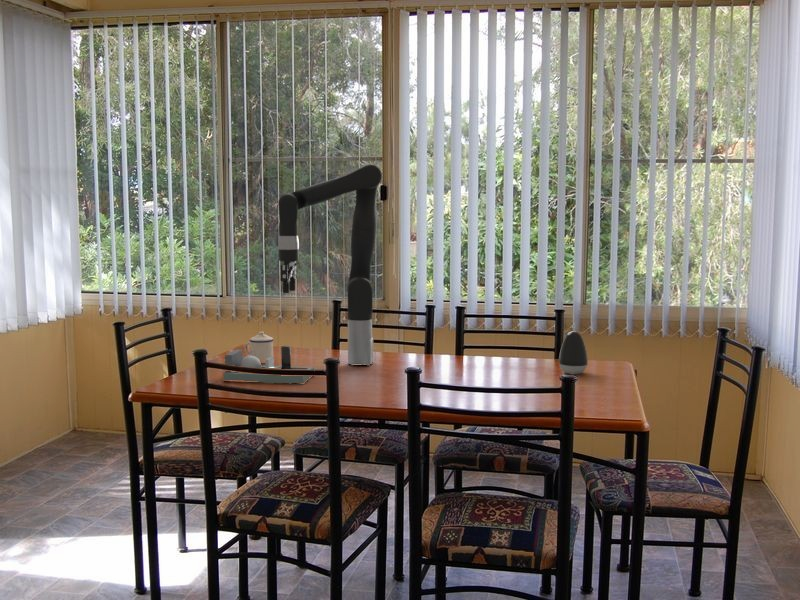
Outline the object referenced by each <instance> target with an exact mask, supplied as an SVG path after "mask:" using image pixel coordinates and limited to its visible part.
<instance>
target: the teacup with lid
mask: <svg viewBox="0 0 800 600" xmlns="http://www.w3.org/2000/svg"><path fill="white" fill-rule="evenodd" d="M248 345H250V350H249V351H248ZM243 348H244V352H245V354H247V356H249V355H251V356H255V357H257V358H258V359H259V360H266V359H267V358H269V357H274V337H271V336H269V335H267V334H265V332H264V331H258V334H256V335H255V336H253V337H250V338H249V341H248V342H245V343H244V345H243Z"/></svg>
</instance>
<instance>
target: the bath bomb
mask: <svg viewBox="0 0 800 600" xmlns="http://www.w3.org/2000/svg"><path fill="white" fill-rule="evenodd" d="M239 366H243V367H253V368H262V366H263V365H262V364H261V362H260V360H259V359H258V358H257V357H255V356H251V355H247V356H243V358H242V359H241V361H240V362H239Z"/></svg>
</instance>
